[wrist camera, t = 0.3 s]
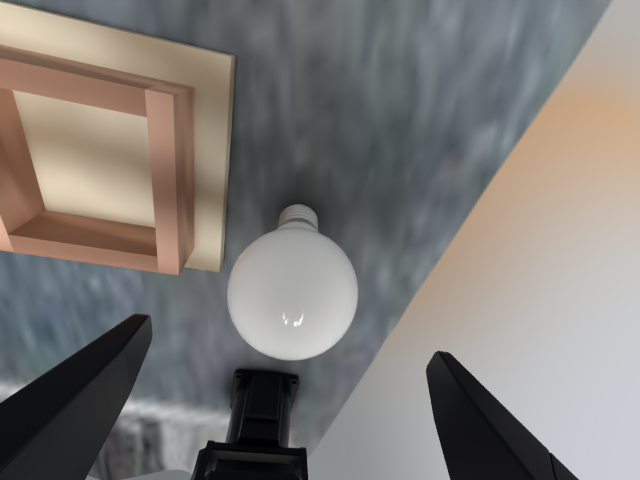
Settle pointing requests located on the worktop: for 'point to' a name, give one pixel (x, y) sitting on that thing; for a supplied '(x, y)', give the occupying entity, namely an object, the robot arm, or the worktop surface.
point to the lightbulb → (292, 289)
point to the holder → (112, 144)
